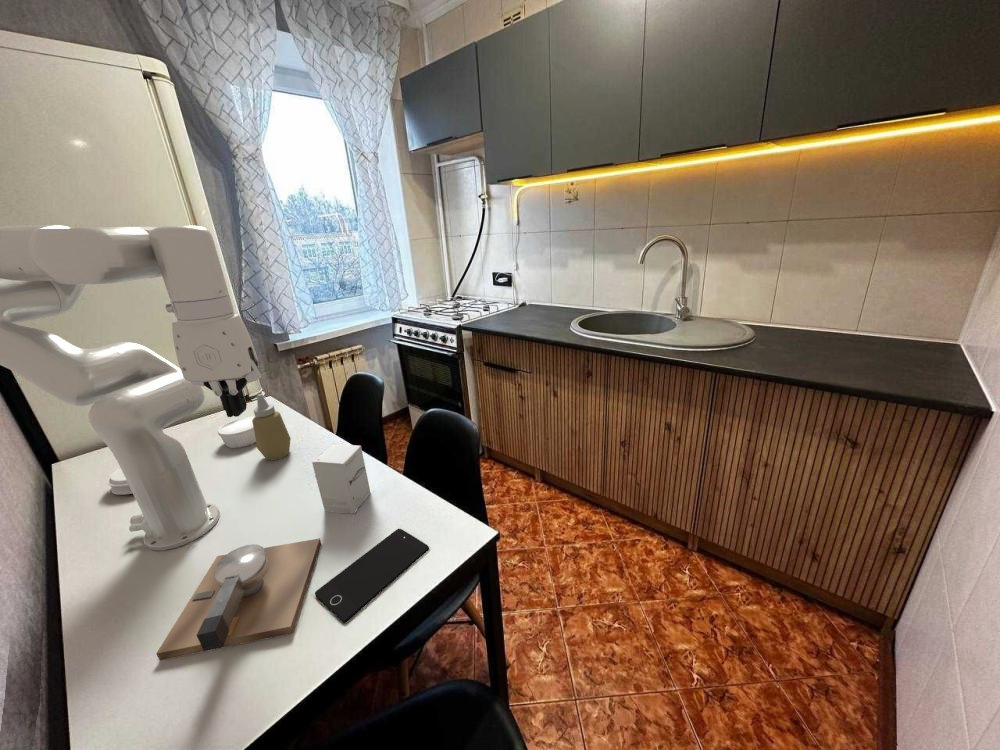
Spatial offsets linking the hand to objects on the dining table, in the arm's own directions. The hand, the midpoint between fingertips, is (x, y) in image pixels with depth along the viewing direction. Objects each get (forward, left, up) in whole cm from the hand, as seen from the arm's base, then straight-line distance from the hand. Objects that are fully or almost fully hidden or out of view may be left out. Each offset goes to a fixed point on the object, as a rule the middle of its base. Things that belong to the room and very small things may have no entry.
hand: (237, 413), depth 68 cm
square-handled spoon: (+1, -18, -23) cm, 29 cm away
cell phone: (+20, -14, -28) cm, 37 cm away
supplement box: (+12, +7, -28) cm, 31 cm away
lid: (-41, +29, -28) cm, 57 cm away
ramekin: (-24, +45, -28) cm, 58 cm away
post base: (0, -14, -27) cm, 31 cm away
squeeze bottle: (-11, +33, -28) cm, 45 cm away
